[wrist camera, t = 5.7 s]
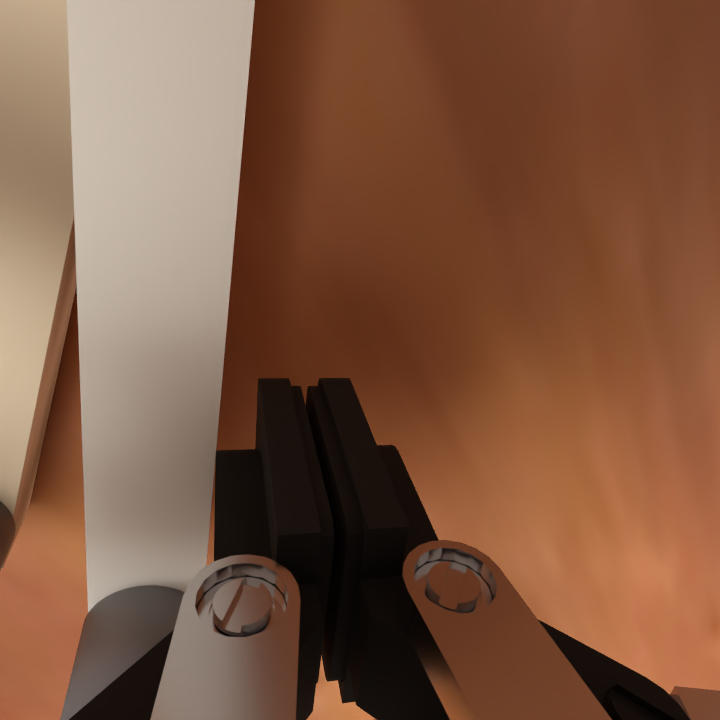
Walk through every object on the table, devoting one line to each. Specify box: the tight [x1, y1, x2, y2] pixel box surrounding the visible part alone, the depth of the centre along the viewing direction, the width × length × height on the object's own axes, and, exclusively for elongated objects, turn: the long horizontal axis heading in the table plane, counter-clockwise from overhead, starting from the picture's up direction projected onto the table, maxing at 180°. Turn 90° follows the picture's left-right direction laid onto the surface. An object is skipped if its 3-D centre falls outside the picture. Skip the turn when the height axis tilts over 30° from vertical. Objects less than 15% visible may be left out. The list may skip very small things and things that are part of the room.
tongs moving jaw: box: [60, 0, 255, 720], centre depth 7 cm, size 18×2×4 cm, turn 170°
